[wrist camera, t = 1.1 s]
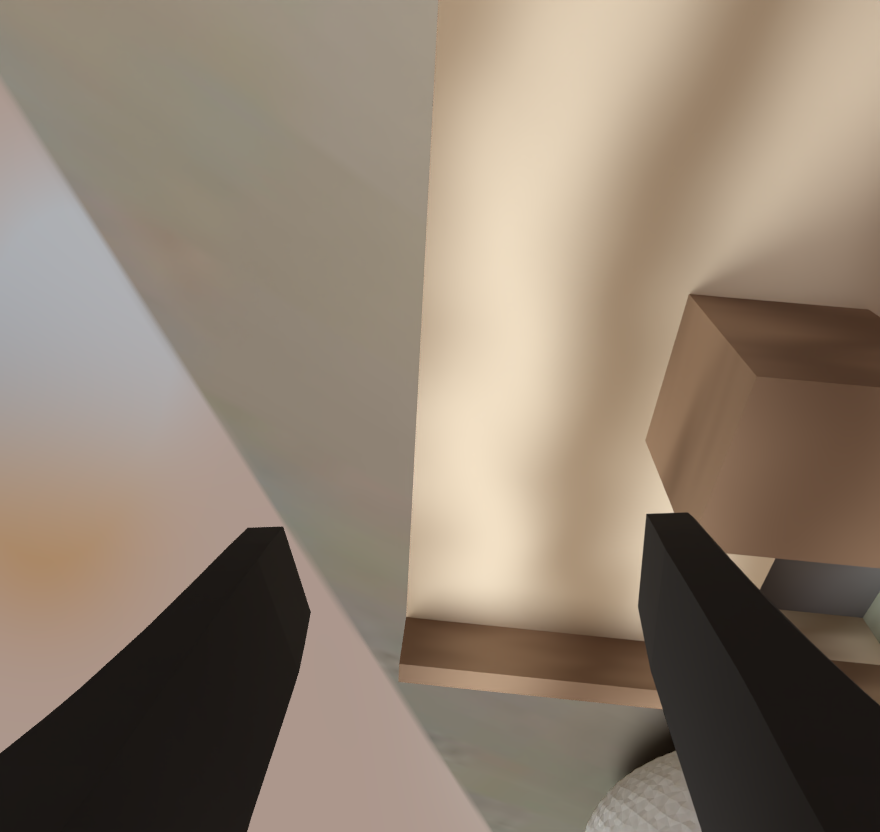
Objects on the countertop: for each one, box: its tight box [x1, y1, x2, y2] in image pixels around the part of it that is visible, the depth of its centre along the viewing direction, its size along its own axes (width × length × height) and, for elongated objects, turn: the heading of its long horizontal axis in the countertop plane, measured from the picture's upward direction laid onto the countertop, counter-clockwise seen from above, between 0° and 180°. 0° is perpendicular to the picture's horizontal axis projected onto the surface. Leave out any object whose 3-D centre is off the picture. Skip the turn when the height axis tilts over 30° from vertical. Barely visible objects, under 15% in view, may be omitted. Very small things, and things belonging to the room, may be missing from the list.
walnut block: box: [645, 294, 880, 568], centre depth 14 cm, size 4×4×4 cm
